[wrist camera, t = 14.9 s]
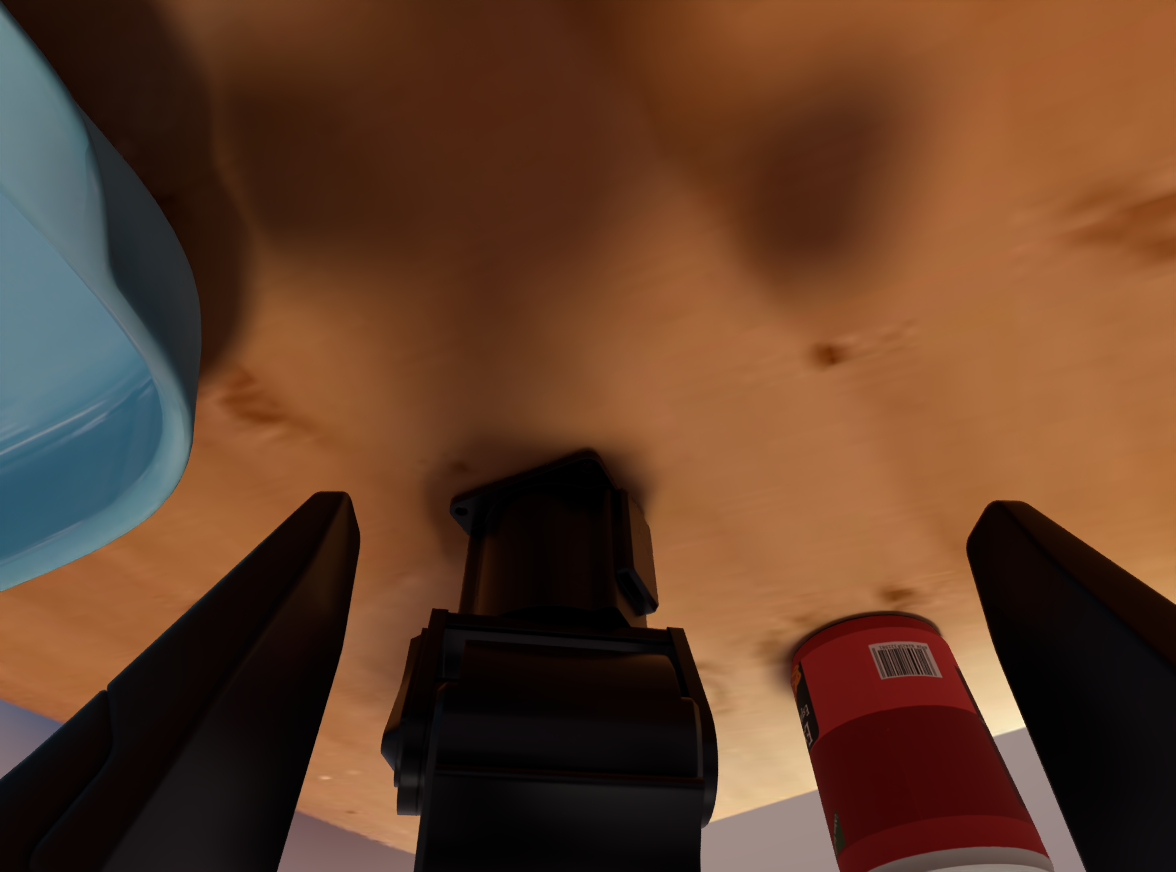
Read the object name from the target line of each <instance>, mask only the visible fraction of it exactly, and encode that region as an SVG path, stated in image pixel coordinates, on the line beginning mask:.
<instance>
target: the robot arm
mask: <svg viewBox="0 0 1176 872" xmlns="http://www.w3.org/2000/svg"><path fill="white" fill-rule="evenodd" d="M584 463H591V465H588V466H586V465H583V464H584ZM460 507H465V508H460ZM449 512H450V514H451V516H452V517H453V518H454V519H455V520H456V521H457V523H458V524H459V525H460V526H461V527H462V528H463V530H464V531H465V532H466V533H467V534H468V535H469V543H468V550H467V557H466V564H465V571H464V577H463V584H462V591H461V598H460V605H459V611H458V613H451V612H448V611H449V610H447V609H435V608H433V609H432V612H431V617H430V621H429V625H428V628H422V632H421V635H419V636H417V637H415V638H412V639H411V641H410V646H409V651H408V656H407V661H406V666H405V671H404V675H403V679H402V683H401V686H400V689H399V692H398V695H397V698H396V700H395V703H394V706H393V708H392V711H391V714H390V716H389V719H388V722H387V725H386V727H385V730H384V733H383V738H382V744H381V754H382V755H383V757H384V758H385V759H386V761H387V762H388V764H389V765H390V766H391V768H392V769H393V770H394V787H398V794H397V815H415V816H417V815H421V817H420V825H419V833H418V841H417V849H416V857H415V865H414V872H701V867H700V849H701V848H700V847H701V828H704V827H705V826H706V825H707V824H708V823H709V821H710V818H711V816H712V813H713V809H714V806H715V800H716V793H717V783H718V749H717V738H716V732H715V725H714V721H713V717H712V713H711V710H710V707H709V704H708V701H707V698H706V695H705V692H704V689H703V686H702V683H701V680H700V677H699V674H698V671H697V668H696V665H695V662H694V659H693V656H692V653H691V650H690V647H689V644H688V641H687V638H686V635H685V632H684V629H683V628H673V627H667V629H653V628H647V621H646V615H647V614H651V613H654V612H655V611H656V609H657V607H658V606H659V603H658V594H657V586H656V577H655V568H654V560H653V549H652V543H651V534H650V528H649V526H648V524H647V522H646V521H645V519H644V517H643V516H642V514H641V512H640V511H639V509H638V507H637V506H636V504H635V502H634V500H633V499H632V497H631V495H630V494H629V492H628V491H627V490H625V489H623V488H620V489H619V488H618V487H617V485H616V483H615V482H614V480H613V478H612V477H611V475H610V473H609V472H608V470H607V468H606V467H605V465H604V463H603V462H602V460H601V458H600V457H599V456H598V455H597V453H594V452H592V451H584V452H580V453H577V454H575V455H572V456H569V457H566V458H563V459H560V460H558V461H555V462H552V463H549V464H546V465H543V466H541V467H538V468H535V469H532V470H529V471H526V472H524V473H521V474H518V475H515V476H512V477H509V478H507V479H504V480H501V481H498V482H495V483H492V484H490V485H487V486H484V487H481V488H478V489H475V490H473V491H470V492H467V493H464V494H461V495H458V496H456V497H454V498H453V499H452V500H451V503H450V509H449ZM359 549H360V531H359V527H358V523H357V520H356V516H355V512H354V508H353V504H352V500H351V498H350V496H349V494H348V493H346V492H343V491H320V492H317V493H315V494H313V495H312V496H311V497H310V498H309V499H308V500H307V501H306V502H305V503H304V504H302V505H301V506H300V507H299V508H298V509H297V510H296V511H295V512H294V513H293V514H292V515H291V516H289V517H288V518H287V519H286V520H285V521H284V522H283V523H282V524H281V525H280V526H279V527H278V528H276V529H275V530H274V531H273V532H272V533H271V534H270V535H269V536H268V537H267V538H266V539H265V540H264V541H262V542H261V543H260V544H259V545H258V546H257V547H256V548H255V549H254V550H253V551H252V552H251V553H249V554H248V555H247V556H246V557H245V558H244V559H243V560H242V561H241V562H240V563H239V564H238V565H236V566H235V567H234V568H233V569H232V570H231V571H230V572H229V573H228V574H227V575H226V576H225V577H224V578H222V579H221V580H220V581H219V582H218V583H217V584H216V585H215V586H214V587H213V588H212V589H211V590H209V591H208V592H207V593H206V594H205V595H204V596H203V597H202V598H201V599H200V600H199V601H198V602H196V603H195V604H194V605H193V606H192V607H191V608H190V609H189V610H188V611H187V612H186V613H185V614H184V615H182V616H181V617H180V618H179V619H178V620H177V621H176V622H175V623H174V624H173V625H172V626H171V627H169V628H168V629H167V630H166V631H165V632H164V633H163V634H162V635H161V636H160V637H159V638H158V639H156V640H155V641H154V642H153V643H152V644H151V645H150V646H149V647H148V648H147V649H146V650H145V651H144V652H142V653H141V654H140V655H139V656H138V657H137V658H136V659H135V660H134V661H133V662H132V663H131V664H129V665H128V666H127V667H126V668H125V669H124V670H123V671H122V672H121V673H120V674H119V675H118V676H116V677H115V678H114V679H113V680H112V681H111V682H110V683H109V684H108V686H107V691H106V690H102V691H100V692H99V693H98V694H97V695H96V696H95V697H93V698H92V699H91V700H90V701H89V702H88V703H87V704H86V705H85V706H84V707H83V708H82V709H80V710H79V711H78V712H77V713H76V714H75V715H74V716H73V717H72V718H71V719H69V720H68V721H67V722H66V723H65V724H64V725H63V726H62V727H60V728H59V729H58V730H57V731H56V732H55V733H54V734H53V735H51V736H50V737H49V738H48V739H47V740H46V741H45V742H44V743H43V744H41V745H40V746H39V747H38V748H37V749H36V750H35V751H33V752H32V753H31V754H30V755H29V756H28V757H27V758H25V759H24V760H23V761H22V762H20V763H19V764H18V765H17V766H16V767H14V768H13V769H12V770H11V771H10V772H9V773H7V774H6V775H5V776H4V777H2V778H1V779H0V872H277V870H278V866H279V863H280V859H281V856H282V853H283V849H284V845H285V842H286V839H287V836H288V832H289V829H290V826H291V822H292V819H293V815H294V812H295V809H296V805H297V802H298V798H299V795H300V792H301V788H302V785H303V782H304V778H305V775H306V771H307V768H308V765H309V761H310V758H311V754H312V751H313V748H314V744H315V741H316V737H317V734H318V731H319V727H320V724H321V721H322V717H323V714H324V710H325V707H326V704H327V700H328V697H329V693H330V690H331V687H332V683H333V680H334V677H335V673H336V670H337V666H338V663H339V659H340V655H341V651H342V648H343V642H344V637H345V632H346V626H347V620H348V614H349V608H350V602H351V596H352V591H353V585H354V579H355V573H356V567H357V561H358V555H359ZM966 551H967V557H968V560H969V564H970V567H971V570H972V574H973V577H974V581H975V584H976V588H977V591H978V595H979V598H980V601H981V605H982V608H983V612H984V615H985V619H986V622H987V626H988V629H989V632H990V636H991V639H992V642H993V645H994V648H995V651H996V654H997V656H998V659H999V661H1000V664H1001V667H1002V669H1003V672H1004V674H1005V676H1006V679H1007V681H1008V684H1009V686H1010V689H1011V691H1012V693H1013V696H1014V698H1015V701H1016V703H1017V706H1018V708H1019V710H1020V713H1021V715H1022V718H1023V720H1024V723H1025V725H1026V727H1027V730H1028V732H1029V735H1030V737H1031V739H1032V741H1033V744H1034V747H1035V749H1036V751H1037V754H1038V756H1039V759H1040V761H1041V764H1042V766H1043V769H1044V771H1045V773H1046V776H1047V778H1048V781H1049V783H1050V785H1051V788H1052V790H1053V793H1054V795H1055V798H1056V800H1057V803H1058V805H1059V807H1060V810H1061V812H1062V814H1063V817H1064V820H1065V822H1066V824H1067V827H1068V829H1069V832H1070V834H1071V836H1072V839H1073V841H1074V844H1075V846H1076V849H1077V851H1078V853H1079V856H1080V858H1081V861H1082V863H1083V866H1084V868H1085V870H1086V872H1176V605H1175V604H1174V603H1173V602H1171V601H1170V600H1168V599H1167V598H1165V597H1164V596H1162V595H1161V594H1159V593H1158V592H1156V591H1155V590H1153V589H1152V588H1151V587H1149V586H1148V585H1146V584H1145V583H1143V582H1142V581H1140V580H1139V579H1137V578H1136V577H1134V576H1133V575H1131V574H1130V573H1128V572H1127V571H1126V570H1124V569H1123V568H1121V567H1120V566H1118V565H1117V564H1115V563H1114V562H1112V561H1111V560H1109V559H1108V558H1106V557H1105V556H1104V555H1102V554H1101V553H1099V552H1098V551H1096V550H1095V549H1093V548H1092V547H1090V546H1089V545H1087V544H1086V543H1084V542H1083V541H1082V540H1080V539H1079V538H1077V537H1076V536H1074V535H1073V534H1071V533H1070V532H1068V531H1067V530H1065V529H1064V528H1062V527H1061V526H1060V525H1058V524H1057V523H1055V522H1054V521H1052V520H1051V519H1049V518H1048V517H1046V516H1045V515H1043V514H1042V513H1040V512H1039V511H1038V510H1036V509H1035V508H1033V507H1032V506H1030V505H1029V504H1027V503H1025V502H1022V501H1009V500H996V501H993V502H991V503H990V504H988V505H987V507H986V508H985V510H984V511H983V513H982V515H981V516H980V518H979V520H978V521H977V523H976V525H975V526H974V528H973V530H972V531H971V533H970V535H969V537H968V540H967V545H966Z"/></svg>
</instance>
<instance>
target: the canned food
mask: <svg viewBox="0 0 1176 872" xmlns="http://www.w3.org/2000/svg"><path fill="white" fill-rule="evenodd" d="M791 686H792V689H793V693H794V697H795V701H796V705H797V709H798V713H799V717H800V720H801V724H802V728H803V732H804V736H805V740H806V744H807V748H808V752H809V755H810V759H811V763H812V767H813V771H814V775H815V779H816V783H817V786H818V790H819V794H820V798H821V802H822V806H823V810H824V813H825V817H826V821H827V825H828V829H829V833H830V837H831V841H832V845H833V849H834V852H835V856H836V860H837V864H838V867H839V870H840V872H1054V868H1053V864H1052V862H1051V860H1050V858H1049V856H1048V854H1047V852H1046V850H1045V847H1044V845H1043V843H1042V841H1041V838H1040V836H1039V833H1038V831H1037V829H1036V827H1035V825H1034V823H1033V821H1032V819H1031V817H1030V815H1029V813H1028V811H1027V808H1026V806H1025V804H1024V802H1023V800H1022V798H1021V796H1020V794H1019V792H1018V789H1017V787H1016V785H1015V783H1014V781H1013V779H1012V777H1011V775H1010V773H1009V771H1008V769H1007V767H1006V765H1005V762H1004V760H1003V758H1002V756H1001V754H1000V752H999V750H998V748H997V746H996V744H995V742H994V739H993V737H992V735H991V733H990V731H989V729H988V727H987V725H986V723H985V721H984V719H983V717H982V714H981V712H980V710H979V708H978V706H977V704H976V702H975V700H974V698H973V696H972V694H971V691H970V689H969V687H968V685H967V683H966V681H965V679H964V677H963V675H962V673H961V671H960V669H959V666H958V664H957V662H956V660H955V658H954V656H953V654H952V652H951V650H950V648H949V646H948V644H947V643H946V641H945V640H944V639H943V638H942V637H941V636H940V635H939V634H938V633H937V632H936V631H935V630H934V629H933V628H932V627H931V626H930V625H928V624H926V623H924V622H922V621H920V620H916V619H913V618H909V617H903V616H895V615H879V616H869V617H863V618H858V619H853V620H849V621H846V622H843V623H840V624H837V625H834V626H832V627H830V628H827V629H825V630H823V631H821V632H820V633H818V634H816V635H815V636H813V637H812V638H811V639H809V640H808V641H807V642H806V643H804V644H803V645H802V646H801V648H800V649H799V650H798V651H797V652H796V654H795V656H794V658H793V660H792V669H791Z"/></svg>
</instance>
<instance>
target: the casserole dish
mask: <svg viewBox="0 0 1176 872" xmlns="http://www.w3.org/2000/svg"><path fill="white" fill-rule="evenodd" d="M201 347H202V335H201V314H200V303H199V297H198V292H197V288H196V284H195V280H194V276H193V272H192V269H191V267H190V264H189V262H188V260H187V257H186V255H185V252H184V250H183V248H182V246H181V244H180V242H179V240H178V238H177V236H176V234H175V232H174V230H173V228H172V227H171V225H170V224H169V222H168V220H167V219H166V217H165V215H164V214H163V212H162V210H161V209H160V207H159V205H158V204H157V202H156V201H155V199H154V198H153V196H152V195H151V194H150V192H149V191H148V190H147V188H146V187H145V185H144V184H143V183H142V181H141V180H140V178H139V177H138V176H137V174H136V173H135V172H134V170H133V169H132V168H131V167H130V165H129V164H128V163H127V162H126V161H125V160H124V158H123V157H122V156H121V155H120V154H119V152H118V151H117V150H116V149H115V148H114V146H113V145H112V144H111V143H110V142H109V141H108V139H107V138H106V137H105V136H104V135H103V133H102V132H101V131H100V130H99V129H98V128H97V126H96V125H95V124H94V123H93V122H92V120H91V119H90V118H89V117H88V116H87V115H86V113H85V112H84V111H83V110H82V109H81V107H80V106H79V105H78V104H77V103H76V101H75V100H74V99H73V97H72V95H71V94H70V92H69V90H68V89H67V87H66V86H65V84H64V83H63V81H62V80H61V78H60V77H59V75H58V74H57V73H56V71H55V70H54V68H53V67H52V65H51V64H50V62H49V61H48V59H47V58H46V57H45V55H44V54H43V53H42V51H41V50H40V49H39V48H38V46H37V45H36V44H35V43H34V41H33V40H32V39H31V38H30V36H29V35H28V34H27V33H26V32H25V30H24V29H23V28H22V27H21V25H20V24H19V23H18V22H17V20H16V19H15V18H14V17H13V15H12V14H11V13H10V12H9V10H8V9H7V8H6V7H5V5H4V4H3V3H2V2H1V0H0V592H1V591H4V590H6V589H9V588H11V587H14V586H16V585H19V584H21V583H24V582H26V581H29V580H31V579H33V578H36V577H38V576H40V575H43V574H45V573H47V572H50V571H52V570H54V569H56V568H59V567H61V566H63V565H65V564H68V563H70V562H72V561H74V560H77V559H79V558H81V557H83V556H85V555H87V554H89V553H91V552H93V551H96V550H98V549H100V548H101V547H103V546H105V545H107V544H108V543H110V542H112V541H114V540H115V539H117V538H119V537H121V536H122V535H124V534H126V533H128V532H129V531H130V530H132V529H133V528H135V527H136V526H138V525H139V524H140V523H142V522H143V521H145V520H146V519H148V518H149V517H150V516H152V515H153V514H154V513H155V512H156V510H157V509H158V508H159V507H160V506H161V505H162V504H163V503H164V502H165V501H166V500H167V498H168V497H169V496H170V495H171V494H172V492H173V491H174V489H175V488H176V486H177V484H178V483H179V481H180V479H181V477H182V475H183V472H184V470H185V468H186V465H187V463H188V460H189V456H190V452H191V448H192V444H193V432H194V421H195V409H196V399H197V388H198V378H199V368H200V357H201Z"/></svg>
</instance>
